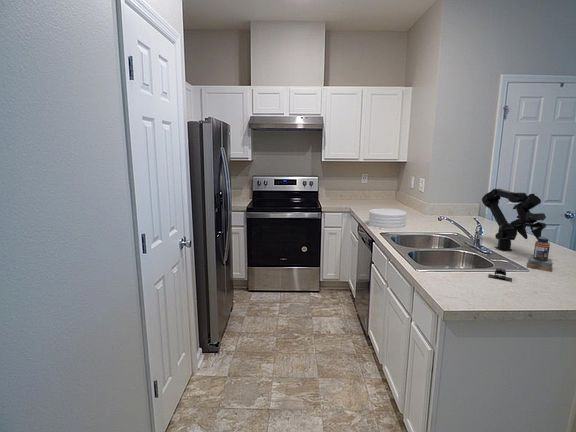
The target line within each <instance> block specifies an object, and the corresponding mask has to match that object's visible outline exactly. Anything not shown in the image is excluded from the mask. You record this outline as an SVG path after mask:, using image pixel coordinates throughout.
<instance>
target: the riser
mask: <svg viewBox="0 0 576 432" xmlns="http://www.w3.org/2000/svg"><path fill="white" fill-rule="evenodd" d="M533 256H534V255H530V256H529V258H528V260H527V263H526V268H528V269H533V270H537V271H543V272H544V271H545V272H548V273H552V272H553V265H554V262H553V259H552V258H548V260H547V261H539V260H536V259H534V258H533Z"/></svg>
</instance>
